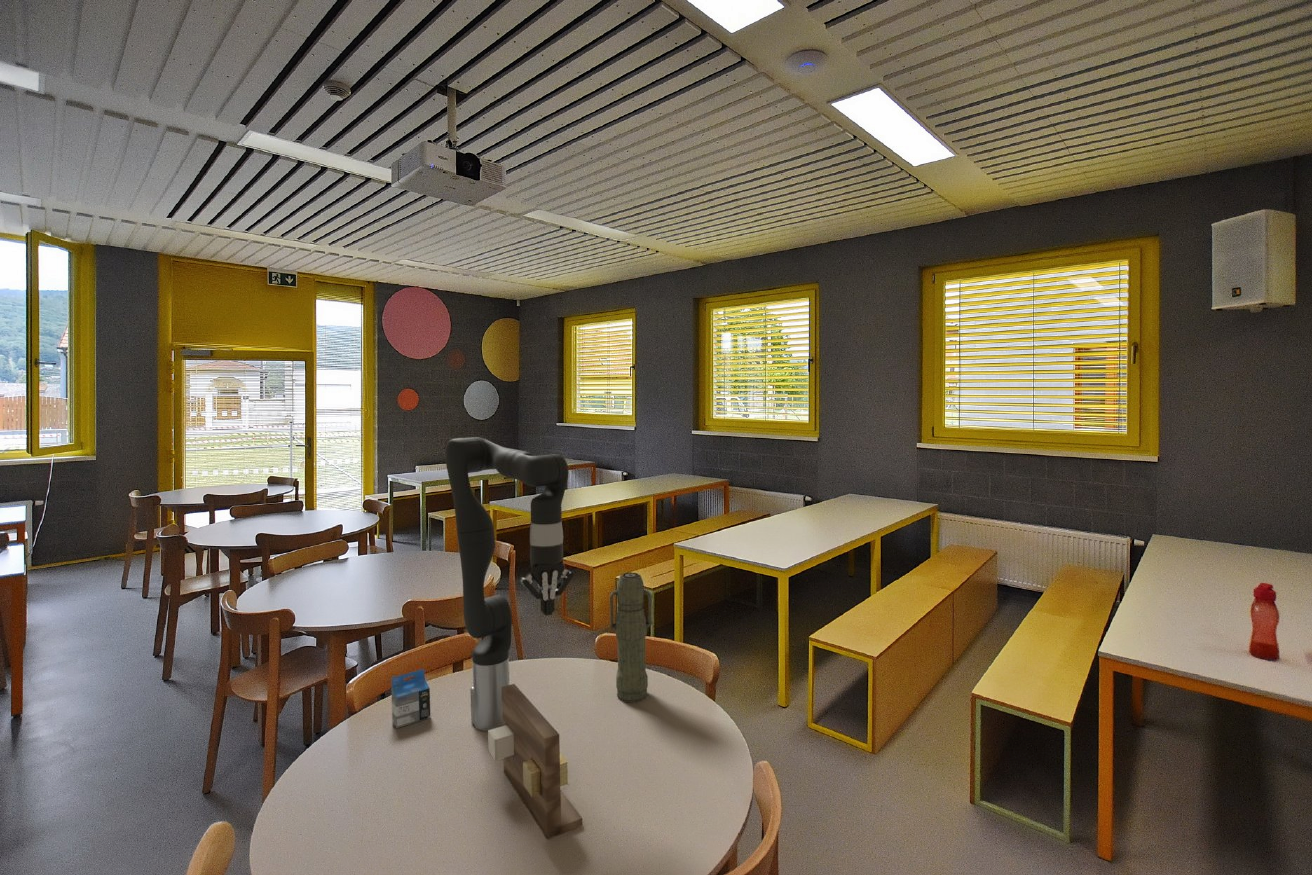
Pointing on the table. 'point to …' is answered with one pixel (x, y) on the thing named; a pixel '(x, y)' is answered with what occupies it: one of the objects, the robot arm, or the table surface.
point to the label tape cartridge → (410, 699)
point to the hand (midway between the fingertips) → (547, 614)
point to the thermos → (631, 636)
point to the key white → (501, 742)
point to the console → (544, 748)
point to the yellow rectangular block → (534, 776)
